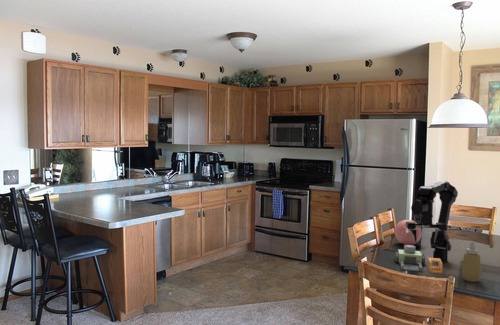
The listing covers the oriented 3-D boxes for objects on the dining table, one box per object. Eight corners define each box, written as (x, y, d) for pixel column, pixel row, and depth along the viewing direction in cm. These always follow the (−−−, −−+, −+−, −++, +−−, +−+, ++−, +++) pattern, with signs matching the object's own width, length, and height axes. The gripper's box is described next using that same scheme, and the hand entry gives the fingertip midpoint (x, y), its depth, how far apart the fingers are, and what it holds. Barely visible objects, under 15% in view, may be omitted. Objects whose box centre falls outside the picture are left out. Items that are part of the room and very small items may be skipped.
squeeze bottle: (474, 277, 198) (476, 239, 197) (484, 283, 190) (486, 243, 189) (457, 277, 198) (459, 239, 197) (467, 283, 190) (468, 243, 189)
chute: (439, 268, 212) (440, 258, 212) (442, 273, 204) (442, 263, 203) (427, 267, 214) (428, 257, 213) (429, 272, 205) (430, 262, 205)
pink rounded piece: (391, 247, 251) (392, 222, 250) (396, 240, 269) (396, 216, 268) (419, 251, 244) (420, 224, 243) (422, 243, 262) (423, 218, 261)
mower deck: (423, 260, 225) (423, 245, 224) (424, 265, 216) (425, 250, 215) (394, 258, 229) (395, 243, 228) (395, 263, 220) (395, 247, 219)
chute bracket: (420, 265, 216) (420, 261, 216) (422, 271, 206) (422, 267, 206) (400, 263, 219) (400, 259, 219) (401, 269, 208) (401, 265, 208)
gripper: (441, 209, 218) (440, 239, 219) (403, 208, 221) (402, 238, 222) (448, 213, 207) (446, 245, 208) (408, 212, 210) (407, 243, 211)
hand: (425, 242), depth 212 cm, fingers open, 9 cm apart
